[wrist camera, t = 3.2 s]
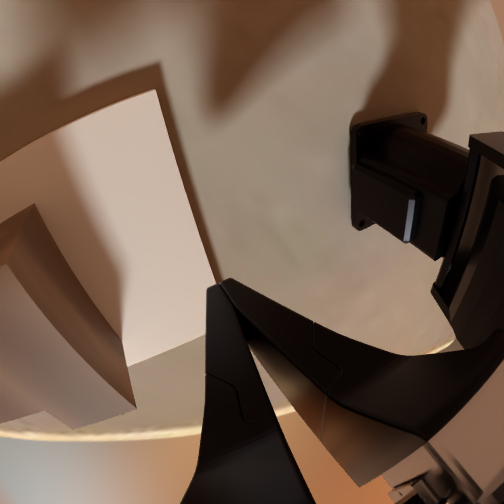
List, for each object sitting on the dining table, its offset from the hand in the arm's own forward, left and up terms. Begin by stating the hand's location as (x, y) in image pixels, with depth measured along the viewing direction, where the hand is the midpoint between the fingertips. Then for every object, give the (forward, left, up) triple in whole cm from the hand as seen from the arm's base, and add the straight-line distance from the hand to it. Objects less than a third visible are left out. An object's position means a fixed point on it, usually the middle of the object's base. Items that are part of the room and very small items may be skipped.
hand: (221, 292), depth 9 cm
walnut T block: (+9, 0, -4) cm, 10 cm away
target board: (+9, 0, -5) cm, 10 cm away
